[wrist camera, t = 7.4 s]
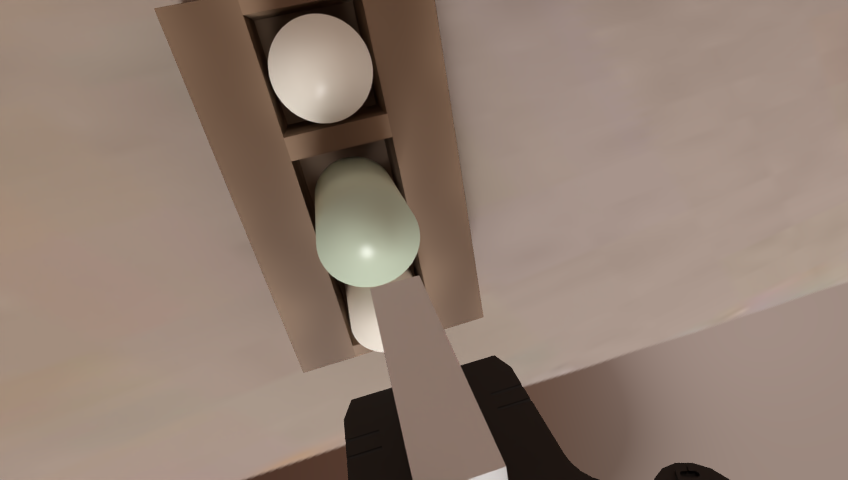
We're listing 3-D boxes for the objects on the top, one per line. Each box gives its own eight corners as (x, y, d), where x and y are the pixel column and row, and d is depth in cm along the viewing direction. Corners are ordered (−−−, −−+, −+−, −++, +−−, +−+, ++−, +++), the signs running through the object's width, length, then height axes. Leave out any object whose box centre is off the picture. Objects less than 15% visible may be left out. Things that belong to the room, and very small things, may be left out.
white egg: (292, 114, 20) (287, 133, 16) (266, 31, 19) (252, 25, 14) (366, 97, 21) (382, 111, 16) (347, 15, 19) (359, 3, 15)
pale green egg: (327, 240, 20) (332, 298, 16) (304, 167, 19) (302, 207, 14) (401, 221, 21) (428, 271, 16) (384, 147, 19) (409, 180, 14)
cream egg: (352, 303, 25) (361, 361, 21) (335, 249, 24) (341, 299, 19) (411, 286, 26) (433, 338, 21) (398, 232, 24) (419, 276, 20)
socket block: (304, 328, 26) (303, 372, 22) (183, 16, 19) (154, 8, 15) (460, 282, 27) (483, 316, 24) (407, -27, 20) (427, -43, 16)
